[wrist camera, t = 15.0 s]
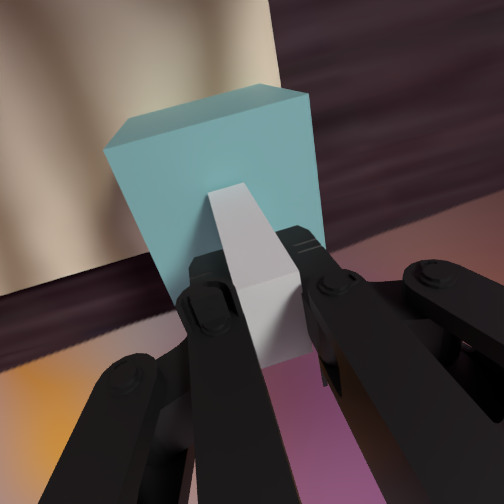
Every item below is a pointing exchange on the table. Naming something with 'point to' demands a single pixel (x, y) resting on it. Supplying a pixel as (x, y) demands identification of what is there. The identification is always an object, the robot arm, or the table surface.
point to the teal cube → (216, 170)
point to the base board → (101, 113)
